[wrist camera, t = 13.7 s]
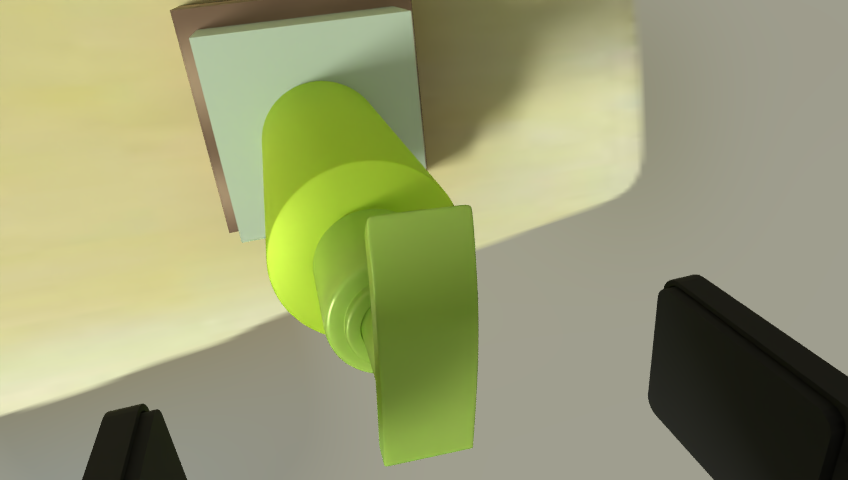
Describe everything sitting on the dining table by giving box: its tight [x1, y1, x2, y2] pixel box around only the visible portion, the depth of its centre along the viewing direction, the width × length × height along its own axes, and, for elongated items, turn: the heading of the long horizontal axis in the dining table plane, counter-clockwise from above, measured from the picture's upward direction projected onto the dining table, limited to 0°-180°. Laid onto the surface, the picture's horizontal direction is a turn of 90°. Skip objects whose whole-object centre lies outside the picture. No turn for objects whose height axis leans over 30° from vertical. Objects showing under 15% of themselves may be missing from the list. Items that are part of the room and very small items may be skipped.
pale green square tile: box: [189, 6, 426, 243], centre depth 30 cm, size 10×10×4 cm
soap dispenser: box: [262, 81, 478, 466], centre depth 20 cm, size 6×7×20 cm
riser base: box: [170, 0, 427, 233], centre depth 34 cm, size 12×12×4 cm
